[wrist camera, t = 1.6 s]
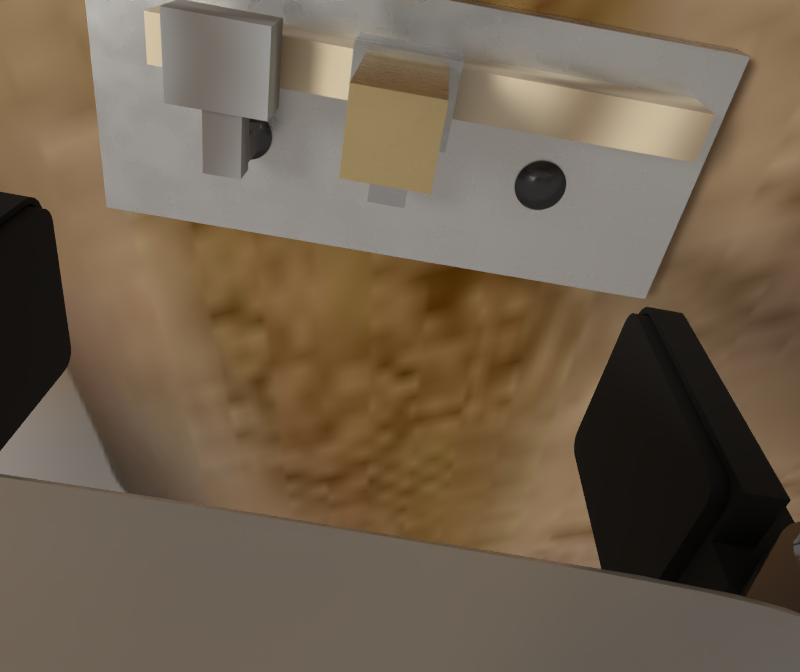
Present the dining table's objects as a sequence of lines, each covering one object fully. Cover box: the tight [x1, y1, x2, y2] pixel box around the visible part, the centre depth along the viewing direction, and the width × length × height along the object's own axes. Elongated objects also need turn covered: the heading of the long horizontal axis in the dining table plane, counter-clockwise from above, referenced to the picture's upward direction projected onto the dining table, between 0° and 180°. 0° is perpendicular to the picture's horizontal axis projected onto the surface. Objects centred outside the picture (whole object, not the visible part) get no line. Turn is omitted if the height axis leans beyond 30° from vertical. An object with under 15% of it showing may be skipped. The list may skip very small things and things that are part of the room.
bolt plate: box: [85, 0, 750, 299], centre depth 31 cm, size 28×12×2 cm, turn 81°
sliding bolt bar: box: [144, 0, 715, 180], centre depth 27 cm, size 23×6×5 cm, turn 81°
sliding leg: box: [339, 32, 464, 208], centre depth 25 cm, size 4×6×9 cm, turn 171°
